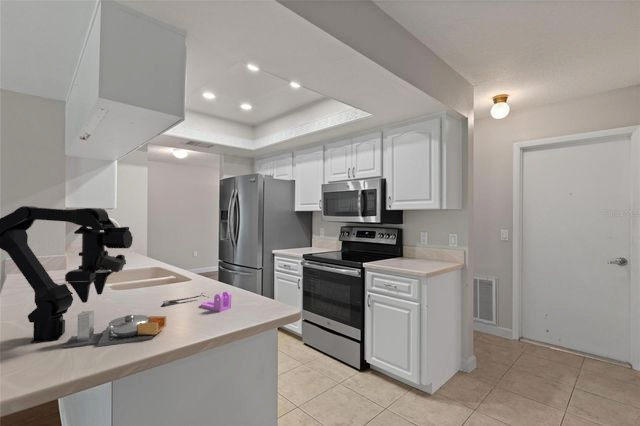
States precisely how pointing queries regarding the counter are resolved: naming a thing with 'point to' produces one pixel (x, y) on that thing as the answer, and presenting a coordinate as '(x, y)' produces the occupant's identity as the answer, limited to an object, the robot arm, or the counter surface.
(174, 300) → the hacksaw
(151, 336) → the base plate
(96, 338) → the mat
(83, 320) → the gray rectangular block
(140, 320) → the oval metal lid
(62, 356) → the counter surface
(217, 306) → the bracket
